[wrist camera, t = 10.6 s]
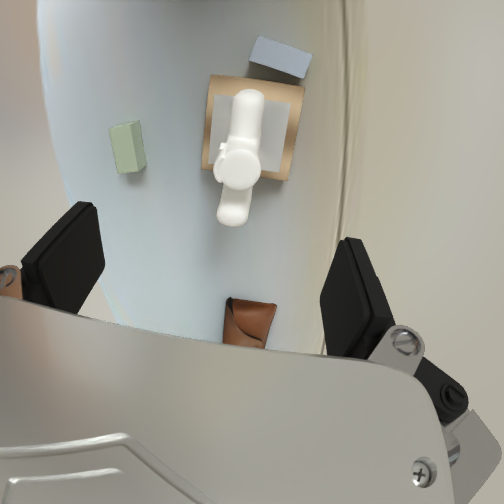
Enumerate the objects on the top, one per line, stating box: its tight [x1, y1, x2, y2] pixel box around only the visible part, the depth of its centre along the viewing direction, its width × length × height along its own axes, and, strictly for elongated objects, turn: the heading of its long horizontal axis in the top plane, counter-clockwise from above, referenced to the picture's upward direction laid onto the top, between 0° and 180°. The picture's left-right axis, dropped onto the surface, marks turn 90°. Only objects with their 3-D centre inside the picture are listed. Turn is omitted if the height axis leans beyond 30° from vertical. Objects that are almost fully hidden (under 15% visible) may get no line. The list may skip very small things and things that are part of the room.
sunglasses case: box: [223, 297, 277, 349], centre depth 53 cm, size 18×7×7 cm, turn 174°
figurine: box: [208, 89, 291, 227], centre depth 25 cm, size 7×9×15 cm
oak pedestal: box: [201, 75, 305, 181], centre depth 32 cm, size 11×10×3 cm
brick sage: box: [109, 121, 147, 174], centre depth 34 cm, size 6×3×3 cm, turn 3°
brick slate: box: [249, 36, 313, 79], centre depth 28 cm, size 6×3×3 cm, turn 71°
